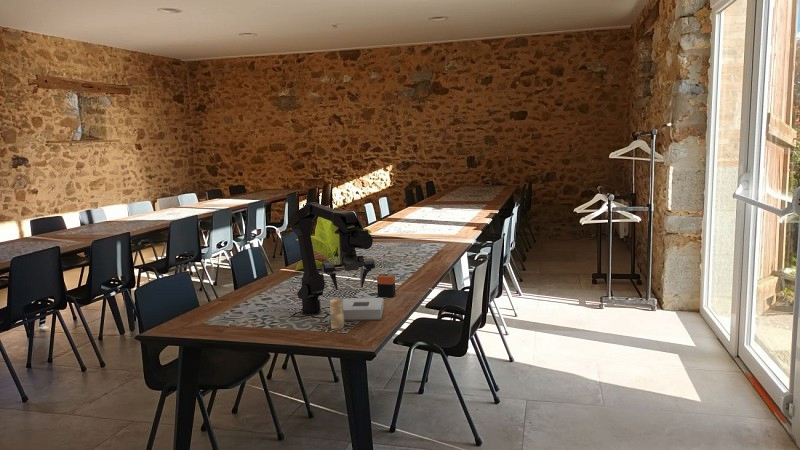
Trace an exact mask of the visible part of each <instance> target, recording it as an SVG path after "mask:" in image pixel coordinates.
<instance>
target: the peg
mask: <svg viewBox="0 0 800 450" xmlns="http://www.w3.org/2000/svg"><path fill="white" fill-rule="evenodd" d="M343 299H344V298H343V297H339V298H338V297H336V298H332V297H331V299H330V300H329V307H330V308H329V310H330V311H329V313H330V329H332V330H333V329H339V330H340V329H343V328H344V326H345V321H344V315H343Z"/></svg>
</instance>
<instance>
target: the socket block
mask: <svg viewBox="0 0 800 450" xmlns="http://www.w3.org/2000/svg"><path fill="white" fill-rule="evenodd" d="M384 304H385V302H384V297H377V298H375V297H373V298H372V297H371V298H370V297H369V298H343V315H344V322H345V321H346V322H347V321H349V322H352V321H353V322H355V321H358V322H359V321H381V320H382V317H383V312H384V309H385V308H384V307H385V305H384Z"/></svg>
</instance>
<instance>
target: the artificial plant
mask: <svg viewBox="0 0 800 450" xmlns="http://www.w3.org/2000/svg"><path fill="white" fill-rule="evenodd" d="M354 227H355V226H354ZM350 228H351V227H350ZM337 229H338V228H337V227H336V226H334V225H333V223H332V222H331V221H329V220H326V219H324V218H321V217H318V216H317V221H316V226H315V229H314V235H311V240H312V246H313V251H314V252H315V253H318V254H320V255H322V256H324V257H325V258H326V259H327V260H328V262H333V263H334V264H340V251H339V234H335V231H336V230H337ZM363 230H368V233H369V234H370V235H371V234H372V230H371V229H368V228H364V227H363ZM295 241H298V238H297V239H295ZM336 247H338V255H337V261H336V258H335V255H336ZM356 255H357V256H358V254H357V252H356ZM315 262H316V268H317V267H318V268H320V267H321V265H322V263H323V262H322V261H320V260H317V259H315ZM302 268H303V263H302V260H301V261H299V262H298V263H297V264H296V267H295V270H294V271H295V272H296V271H299V270H300V269H302ZM336 271H339V269H335V271H334V272H336Z"/></svg>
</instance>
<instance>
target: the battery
mask: <svg viewBox="0 0 800 450" xmlns="http://www.w3.org/2000/svg"><path fill="white" fill-rule="evenodd" d="M376 284H377V285H376V286H377V287H376V288H377V291H376V292H377V298H394V297H395V296H396V294H397V293H396V275H395V273H394V274H393V273H392V272H390V273H389V272H388V273H386V272H384V271H382V272H379V274H378V275H377V276H376Z"/></svg>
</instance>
